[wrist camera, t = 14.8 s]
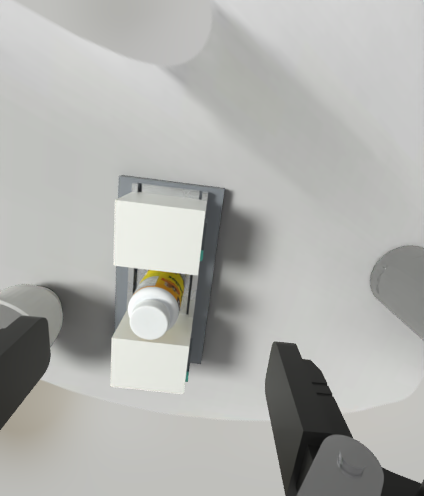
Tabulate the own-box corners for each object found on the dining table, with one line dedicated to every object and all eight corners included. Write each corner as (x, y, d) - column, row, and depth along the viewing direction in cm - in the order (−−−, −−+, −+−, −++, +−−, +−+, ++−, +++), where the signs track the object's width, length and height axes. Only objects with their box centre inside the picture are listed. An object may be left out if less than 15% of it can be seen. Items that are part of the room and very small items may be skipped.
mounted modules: (133, 191, 36) (115, 199, 29) (209, 200, 36) (208, 211, 30) (126, 350, 43) (110, 386, 36) (190, 357, 43) (186, 394, 37)
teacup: (-31, 267, 42) (-103, 301, 32) (75, 263, 41) (33, 296, 32) (-8, 341, 45) (-67, 391, 36) (89, 337, 45) (56, 387, 35)
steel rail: (134, 182, 36) (131, 183, 35) (208, 191, 37) (208, 192, 35) (127, 353, 44) (124, 358, 43) (188, 359, 44) (187, 365, 43)
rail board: (122, 175, 38) (118, 176, 36) (224, 188, 38) (224, 189, 37) (116, 348, 46) (113, 354, 44) (201, 357, 46) (200, 363, 45)
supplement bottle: (191, 294, 40) (183, 339, 30) (152, 305, 41) (133, 353, 31) (177, 257, 39) (164, 292, 29) (137, 269, 39) (112, 307, 29)
